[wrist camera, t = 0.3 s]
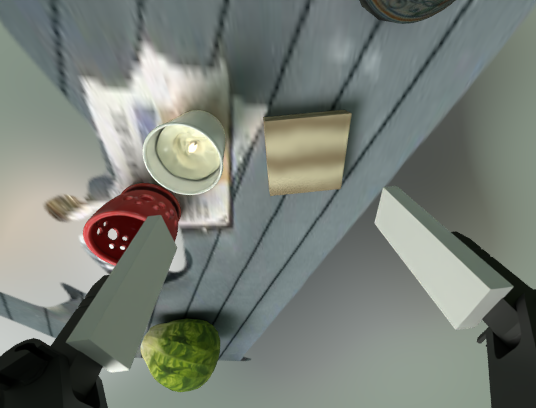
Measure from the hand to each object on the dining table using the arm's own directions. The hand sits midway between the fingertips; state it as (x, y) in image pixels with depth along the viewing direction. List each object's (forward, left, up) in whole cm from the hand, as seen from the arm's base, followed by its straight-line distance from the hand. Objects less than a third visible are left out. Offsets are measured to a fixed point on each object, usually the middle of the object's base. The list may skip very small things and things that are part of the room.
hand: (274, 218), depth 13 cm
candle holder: (+2, -10, -28) cm, 30 cm away
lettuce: (+63, -30, -28) cm, 75 cm away
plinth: (+7, +8, -28) cm, 30 cm away
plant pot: (+15, -23, -28) cm, 39 cm away
